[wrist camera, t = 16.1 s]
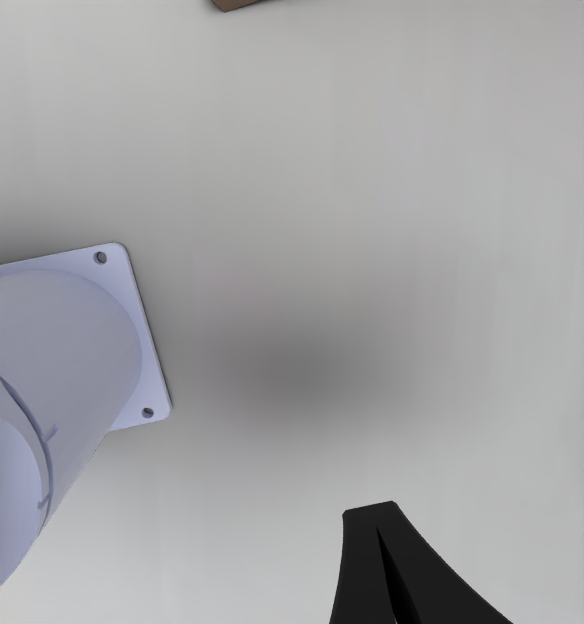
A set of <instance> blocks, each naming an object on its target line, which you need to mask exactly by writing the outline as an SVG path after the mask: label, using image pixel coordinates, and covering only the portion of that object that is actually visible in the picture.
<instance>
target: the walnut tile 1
mask: <svg viewBox="0 0 584 624" xmlns="http://www.w3.org/2000/svg"><path fill="white" fill-rule="evenodd" d="M212 1H213V2H214V3H215V4H216V5H217V6H218V7H219V8H220V9H221V10H222V11H223V12H227V11H230V10H233V9H236V8H239V7H241V6H244V5H247V4H250V3H253V2H255V1H258V0H212Z"/></svg>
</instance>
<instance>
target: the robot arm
mask: <svg viewBox="0 0 584 624" xmlns="http://www.w3.org/2000/svg"><path fill="white" fill-rule="evenodd" d="M98 252H103V253H104V254H105V255H106V257H107V261H106V262H105V263H101V262H99V261H98V259H97V254H98ZM144 408H151V409H152V410H153V411H154V413H153V414H147V413H146V412H145V411H144ZM171 410H172V405H171V401H170V398H169V394H168V391H167V388H166V384H165V381H164V377H163V374H162V370H161V367H160V363H159V360H158V357H157V353H156V350H155V346H154V343H153V339H152V336H151V333H150V329H149V326H148V322H147V319H146V315H145V312H144V309H143V305H142V302H141V298H140V295H139V291H138V288H137V284H136V281H135V278H134V274H133V271H132V267H131V264H130V260H129V257H128V254H127V251H126V249H125V248H124V247H123V246H122V245H121V244H119V243H107V244H102V245H97V246H92V247H87V248H82V249H77V250H72V251H67V252H62V253H57V254H52V255H47V256H42V257H37V258H32V259H27V260H22V261H17V262H12V263H7V264H2V265H0V586H1V585H2V584H3V583H4V582H5V581H6V580H7V578H8V577H9V576H10V575H11V574H12V573H13V572H14V570H15V569H16V568H17V566H18V565H19V564H20V562H21V561H22V560H23V558H24V557H25V555H26V554H27V552H28V551H29V549H30V547H31V546H32V544H33V542H34V541H35V539H36V538H37V537H38V535H39V534H40V533H41V531H42V530H43V528H44V527H45V525H46V524H47V522H48V521H49V519H50V518H51V516H52V515H53V513H54V512H55V510H56V509H57V507H58V506H59V504H60V503H61V501H62V499H63V498H64V496H65V495H66V493H67V492H68V490H69V489H70V487H71V486H72V484H73V483H74V481H75V480H76V478H77V477H78V475H79V474H80V472H81V471H82V469H83V468H84V466H85V465H86V463H87V462H88V460H89V459H90V457H91V456H92V454H93V453H94V451H95V450H96V448H97V447H98V445H99V444H100V442H101V441H102V439H103V438H104V436H105V435H106V433H107V432H109V431H114V430H118V429H123V428H128V427H132V426H137V425H142V424H146V423H151V422H156V421H161V420H164V419H166V418H167V417H168V416H169V415H170V412H171ZM342 517H343V548H342V557H341V565H340V572H339V579H338V585H337V590H336V595H335V600H334V604H333V609H332V614H331V618H330V622H329V624H396V622H397V624H513V623H512V622H510V621H509V620H508V619H507V618H506V617H504V616H503V615H502V614H501V613H500V612H498V611H497V610H496V609H495V608H494V607H492V606H491V605H490V604H489V603H488V602H487V601H486V600H484V599H483V598H482V597H481V596H480V595H479V594H478V593H477V592H476V591H475V590H473V589H472V588H471V587H470V586H469V585H468V584H467V583H466V582H465V581H464V580H463V579H462V578H461V577H460V576H459V575H458V574H457V573H456V572H455V571H454V570H453V569H452V568H451V567H450V566H449V565H448V564H447V563H446V562H445V561H444V560H443V559H442V558H441V557H440V556H439V555H438V554H437V553H436V552H435V550H434V549H433V548H432V547H431V546H430V545H429V544H428V543H427V542H426V541H425V539H424V538H423V537H422V536H421V535H420V534H419V532H418V531H417V530H416V529H415V528H414V526H413V525H412V524H411V523H410V521H409V520H408V519H407V518H406V516H405V515H404V514H403V512H402V511H401V509H400V508H399V506H398V505H397V504H396V503H395V502H393V501H387V502H383V503H378V504H373V505H368V506H363V507H359V508H354V509H349V510H345V512H344V513H343V514H342ZM395 620H396V621H395Z"/></svg>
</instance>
